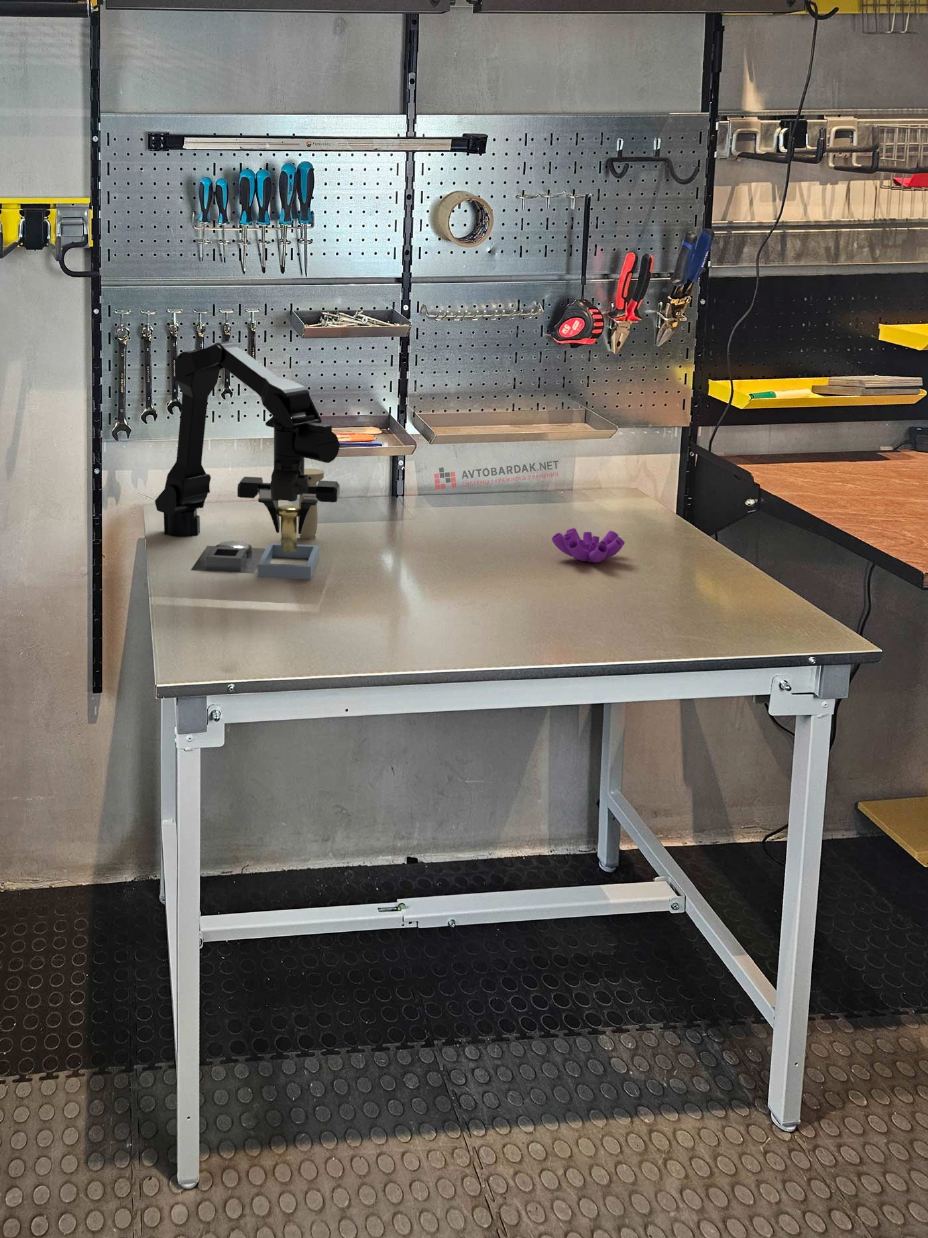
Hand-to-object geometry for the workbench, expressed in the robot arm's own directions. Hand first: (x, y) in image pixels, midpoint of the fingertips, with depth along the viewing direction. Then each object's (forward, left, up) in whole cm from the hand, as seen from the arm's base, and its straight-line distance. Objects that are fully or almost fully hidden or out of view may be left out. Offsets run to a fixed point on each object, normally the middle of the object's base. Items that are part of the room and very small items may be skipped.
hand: (288, 532), depth 251 cm
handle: (+1, +21, -8) cm, 22 cm away
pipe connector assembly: (+59, +17, -8) cm, 62 cm away
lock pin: (0, 0, -3) cm, 3 cm away
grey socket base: (-12, +3, -8) cm, 15 cm away
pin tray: (0, 0, -8) cm, 8 cm away
